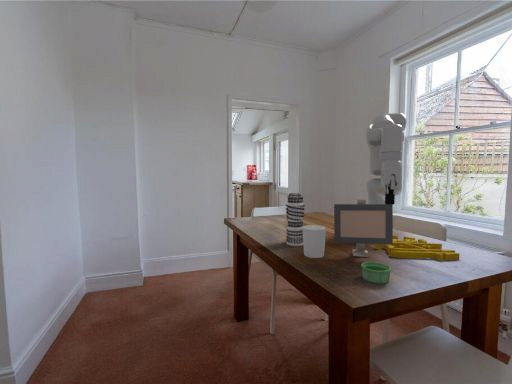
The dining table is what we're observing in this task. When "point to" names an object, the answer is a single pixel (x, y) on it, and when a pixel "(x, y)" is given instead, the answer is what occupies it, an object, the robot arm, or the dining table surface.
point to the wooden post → (360, 247)
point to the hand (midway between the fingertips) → (389, 203)
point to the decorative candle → (295, 219)
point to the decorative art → (417, 249)
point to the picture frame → (363, 223)
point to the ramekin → (376, 272)
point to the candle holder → (314, 240)
